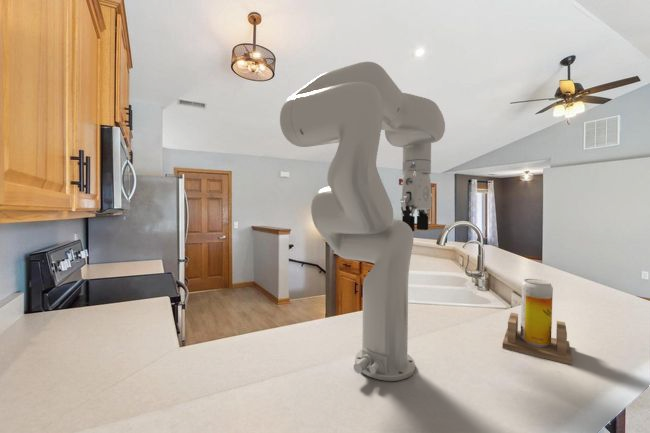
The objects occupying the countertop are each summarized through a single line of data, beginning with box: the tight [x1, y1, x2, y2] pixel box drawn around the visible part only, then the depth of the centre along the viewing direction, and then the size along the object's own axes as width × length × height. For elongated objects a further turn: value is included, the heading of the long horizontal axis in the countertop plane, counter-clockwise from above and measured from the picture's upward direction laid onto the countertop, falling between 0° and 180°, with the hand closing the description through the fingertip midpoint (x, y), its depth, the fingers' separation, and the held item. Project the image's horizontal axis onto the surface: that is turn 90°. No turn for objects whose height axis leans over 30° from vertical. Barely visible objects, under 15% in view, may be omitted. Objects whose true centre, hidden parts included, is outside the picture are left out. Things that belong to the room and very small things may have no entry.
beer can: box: [520, 278, 554, 347], centre depth 72 cm, size 6×6×15 cm
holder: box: [501, 312, 573, 366], centre depth 72 cm, size 11×13×6 cm
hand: (415, 230), depth 82 cm, fingers open, 9 cm apart
